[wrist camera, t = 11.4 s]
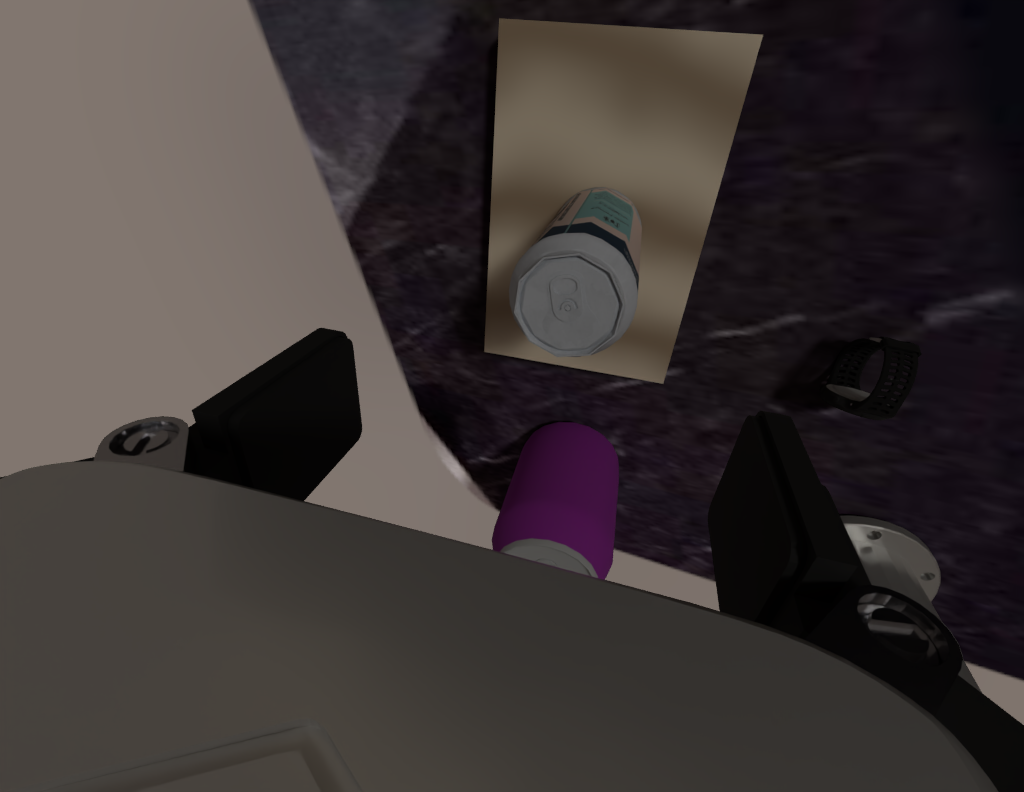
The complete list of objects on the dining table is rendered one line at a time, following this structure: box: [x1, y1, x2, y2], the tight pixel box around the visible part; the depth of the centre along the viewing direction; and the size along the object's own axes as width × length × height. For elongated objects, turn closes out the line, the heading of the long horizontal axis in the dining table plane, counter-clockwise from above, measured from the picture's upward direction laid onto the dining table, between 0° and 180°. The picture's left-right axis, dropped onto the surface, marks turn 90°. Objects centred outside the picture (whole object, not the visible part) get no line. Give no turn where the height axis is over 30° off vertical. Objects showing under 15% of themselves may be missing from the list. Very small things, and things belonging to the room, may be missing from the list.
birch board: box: [484, 19, 763, 384], centre depth 28 cm, size 18×12×2 cm, turn 178°
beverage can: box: [492, 422, 619, 580], centre depth 33 cm, size 8×8×12 cm
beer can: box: [509, 187, 642, 357], centre depth 22 cm, size 5×5×12 cm
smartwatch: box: [820, 337, 921, 420], centre depth 27 cm, size 4×5×5 cm
